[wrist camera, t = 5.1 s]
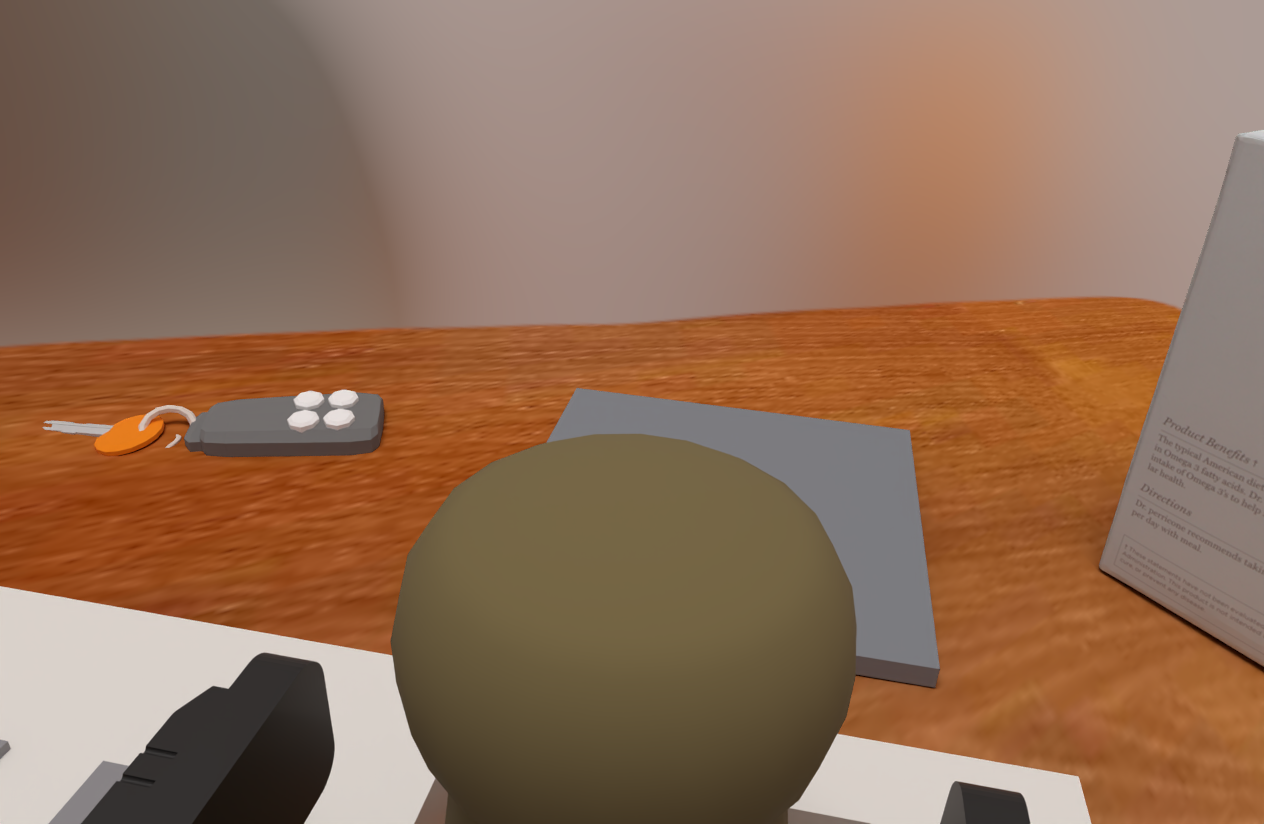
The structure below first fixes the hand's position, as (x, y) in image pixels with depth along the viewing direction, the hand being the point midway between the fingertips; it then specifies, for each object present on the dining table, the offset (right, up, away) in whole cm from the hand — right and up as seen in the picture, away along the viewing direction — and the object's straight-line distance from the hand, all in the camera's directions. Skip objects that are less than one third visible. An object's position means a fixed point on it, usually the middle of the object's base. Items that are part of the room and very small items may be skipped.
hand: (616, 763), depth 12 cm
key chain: (-15, +3, +21) cm, 26 cm away
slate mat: (+3, +1, +17) cm, 17 cm away
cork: (0, -6, +3) cm, 7 cm away
